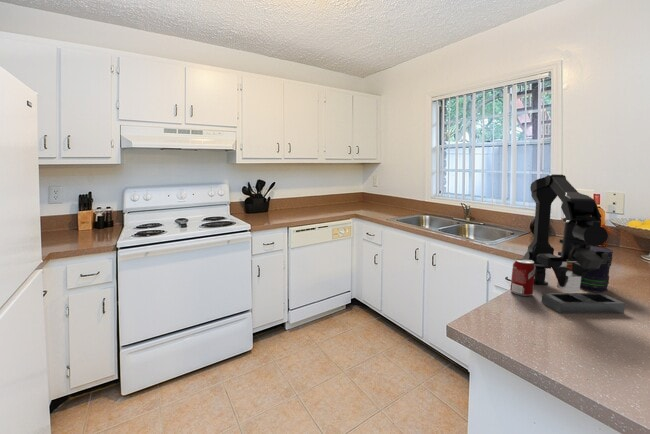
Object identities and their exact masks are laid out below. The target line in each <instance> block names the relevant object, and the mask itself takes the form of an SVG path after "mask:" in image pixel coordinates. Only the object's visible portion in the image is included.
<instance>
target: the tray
mask: <svg viewBox="0 0 650 434" xmlns="http://www.w3.org/2000/svg"><path fill="white" fill-rule="evenodd" d="M541 303H542V304H543V305H546V306H547V307H549V308H551V309H552V310H553V311H555V312H557V313H558V314H624V313H625V311H626V310H625V309H626V303H625V302H623V301H622V300H619V299H616V298H615V297H612V296H610V295H607V294H605V293H604V292H591V293H590V292H542V296H541Z"/></svg>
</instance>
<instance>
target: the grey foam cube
mask: <svg viewBox="0 0 650 434" xmlns="http://www.w3.org/2000/svg"><path fill="white" fill-rule="evenodd" d="M580 283H581V276H579V275H576V274H574V273H572V272H566V277H565V283H564V287H561V286H560V285H559V283H558V282H557V284H556V287H557V288H558V289H560V290H562V291H564V293H580V290H581V289H580Z"/></svg>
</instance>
